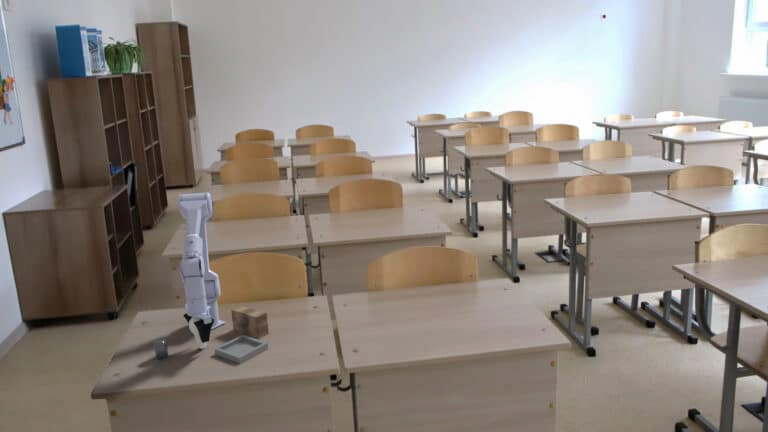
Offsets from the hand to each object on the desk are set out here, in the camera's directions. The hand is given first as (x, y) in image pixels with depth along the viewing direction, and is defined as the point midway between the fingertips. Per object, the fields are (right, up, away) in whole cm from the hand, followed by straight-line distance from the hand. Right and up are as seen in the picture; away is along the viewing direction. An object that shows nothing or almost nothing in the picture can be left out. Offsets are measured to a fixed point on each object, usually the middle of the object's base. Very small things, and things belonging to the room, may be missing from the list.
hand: (201, 338), depth 191 cm
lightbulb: (0, -3, +1) cm, 4 cm away
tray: (+13, -4, -2) cm, 13 cm away
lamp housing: (+13, 0, +11) cm, 17 cm away
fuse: (-11, -5, -3) cm, 12 cm away
